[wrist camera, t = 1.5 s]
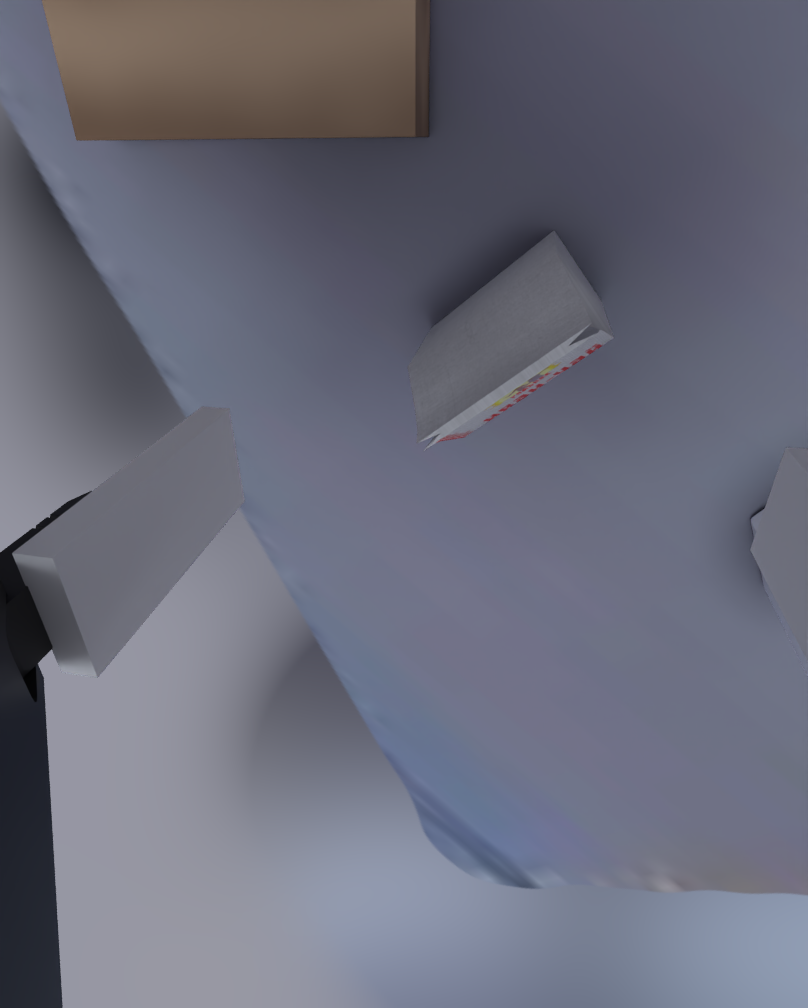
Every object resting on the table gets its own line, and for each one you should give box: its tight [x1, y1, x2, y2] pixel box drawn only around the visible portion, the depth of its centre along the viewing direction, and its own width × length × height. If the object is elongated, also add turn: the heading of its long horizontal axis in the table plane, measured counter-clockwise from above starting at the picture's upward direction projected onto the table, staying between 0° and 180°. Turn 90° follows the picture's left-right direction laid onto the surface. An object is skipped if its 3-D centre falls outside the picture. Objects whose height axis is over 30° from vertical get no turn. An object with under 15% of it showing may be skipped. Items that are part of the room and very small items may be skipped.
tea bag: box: [408, 231, 614, 450], centre depth 23 cm, size 4×7×10 cm, turn 130°
